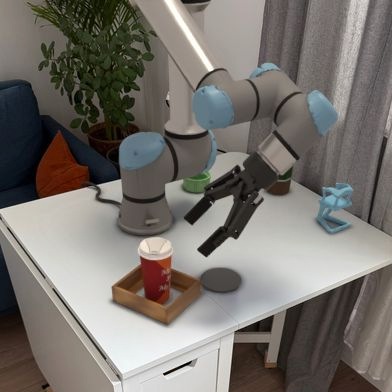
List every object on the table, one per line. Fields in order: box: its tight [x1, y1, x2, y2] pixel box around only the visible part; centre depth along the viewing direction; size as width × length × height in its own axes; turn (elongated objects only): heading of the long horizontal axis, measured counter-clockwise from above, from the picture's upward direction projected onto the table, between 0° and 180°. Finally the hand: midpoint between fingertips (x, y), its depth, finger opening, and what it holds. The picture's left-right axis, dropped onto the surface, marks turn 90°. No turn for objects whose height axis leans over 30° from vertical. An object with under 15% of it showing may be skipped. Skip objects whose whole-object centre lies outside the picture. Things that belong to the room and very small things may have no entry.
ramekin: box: [182, 170, 212, 193], centre depth 160 cm, size 9×9×4 cm
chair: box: [316, 182, 354, 235], centre depth 142 cm, size 8×8×12 cm
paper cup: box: [137, 236, 174, 305], centre depth 114 cm, size 8×8×14 cm
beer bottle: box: [266, 143, 294, 196], centre depth 153 cm, size 8×8×24 cm
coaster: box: [199, 266, 242, 294], centre depth 124 cm, size 10×10×1 cm
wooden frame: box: [110, 263, 202, 325], centre depth 118 cm, size 16×14×4 cm
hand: (194, 236), depth 110 cm, fingers open, 13 cm apart
